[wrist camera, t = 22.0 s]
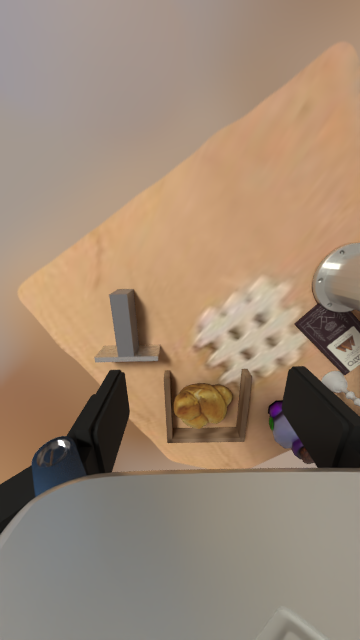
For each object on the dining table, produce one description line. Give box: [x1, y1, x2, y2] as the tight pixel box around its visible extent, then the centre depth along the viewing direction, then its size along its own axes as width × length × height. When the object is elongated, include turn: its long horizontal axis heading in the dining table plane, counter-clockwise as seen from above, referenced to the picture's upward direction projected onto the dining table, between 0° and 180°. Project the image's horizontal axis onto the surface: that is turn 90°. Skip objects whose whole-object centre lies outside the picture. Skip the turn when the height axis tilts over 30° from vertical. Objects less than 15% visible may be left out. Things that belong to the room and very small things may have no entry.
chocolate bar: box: [295, 303, 360, 375], centre depth 41 cm, size 9×1×18 cm
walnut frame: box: [164, 369, 252, 443], centre depth 45 cm, size 18×18×3 cm
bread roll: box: [174, 383, 232, 429], centre depth 42 cm, size 13×10×8 cm
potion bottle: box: [268, 400, 314, 464], centre depth 42 cm, size 9×9×12 cm
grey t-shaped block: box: [95, 289, 160, 362], centre depth 38 cm, size 12×13×5 cm
